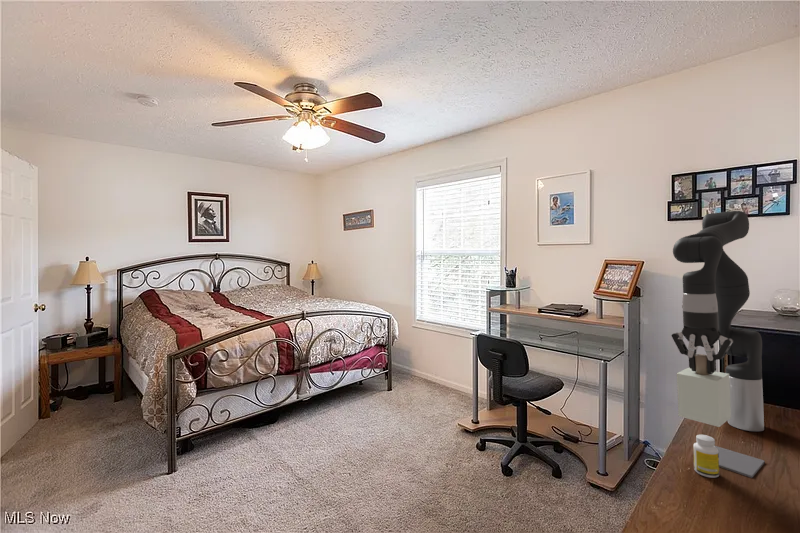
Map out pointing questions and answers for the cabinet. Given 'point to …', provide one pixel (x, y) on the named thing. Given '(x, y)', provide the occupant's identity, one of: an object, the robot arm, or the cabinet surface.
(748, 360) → the robot arm
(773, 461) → the cabinet surface
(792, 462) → the cabinet surface
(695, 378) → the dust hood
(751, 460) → the mat
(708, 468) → the supplement bottle
